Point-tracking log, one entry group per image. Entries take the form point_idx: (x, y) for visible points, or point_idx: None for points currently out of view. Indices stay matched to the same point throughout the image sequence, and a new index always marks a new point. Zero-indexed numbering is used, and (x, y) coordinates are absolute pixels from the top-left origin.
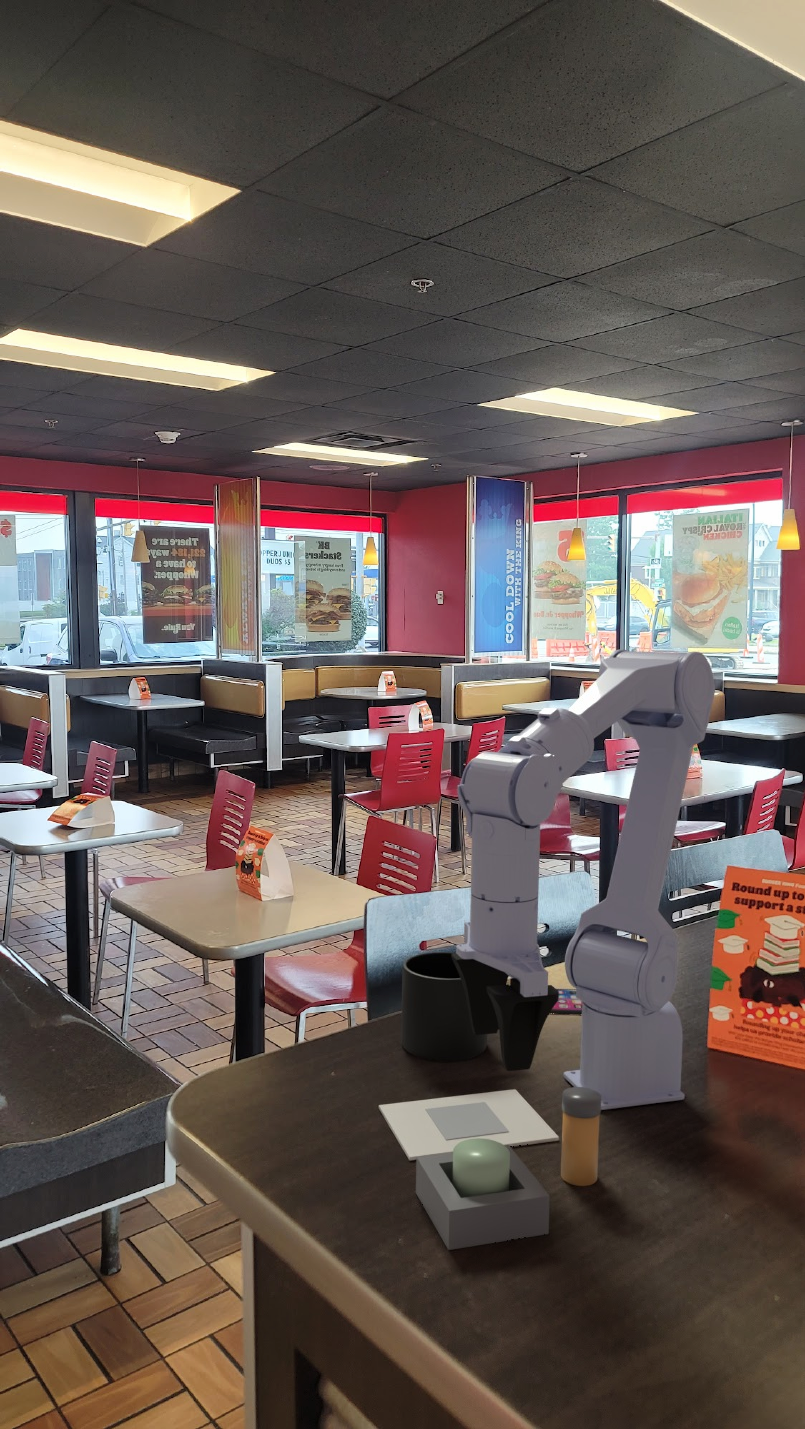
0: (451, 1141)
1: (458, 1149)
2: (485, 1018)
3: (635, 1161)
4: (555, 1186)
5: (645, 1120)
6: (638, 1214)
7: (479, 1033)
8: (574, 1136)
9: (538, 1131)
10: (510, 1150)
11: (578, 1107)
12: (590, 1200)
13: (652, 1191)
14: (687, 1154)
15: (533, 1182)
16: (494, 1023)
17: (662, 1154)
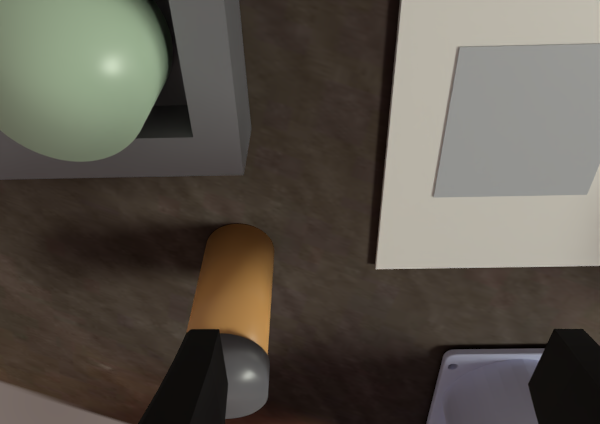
0: (446, 58)
1: (69, 15)
2: (569, 416)
3: (271, 333)
4: (211, 203)
5: (390, 384)
6: (109, 283)
7: (549, 344)
8: (198, 304)
9: (411, 245)
10: (212, 169)
11: None
12: (156, 238)
13: (177, 321)
14: (275, 389)
15: (55, 167)
16: (547, 414)
17: (283, 367)
